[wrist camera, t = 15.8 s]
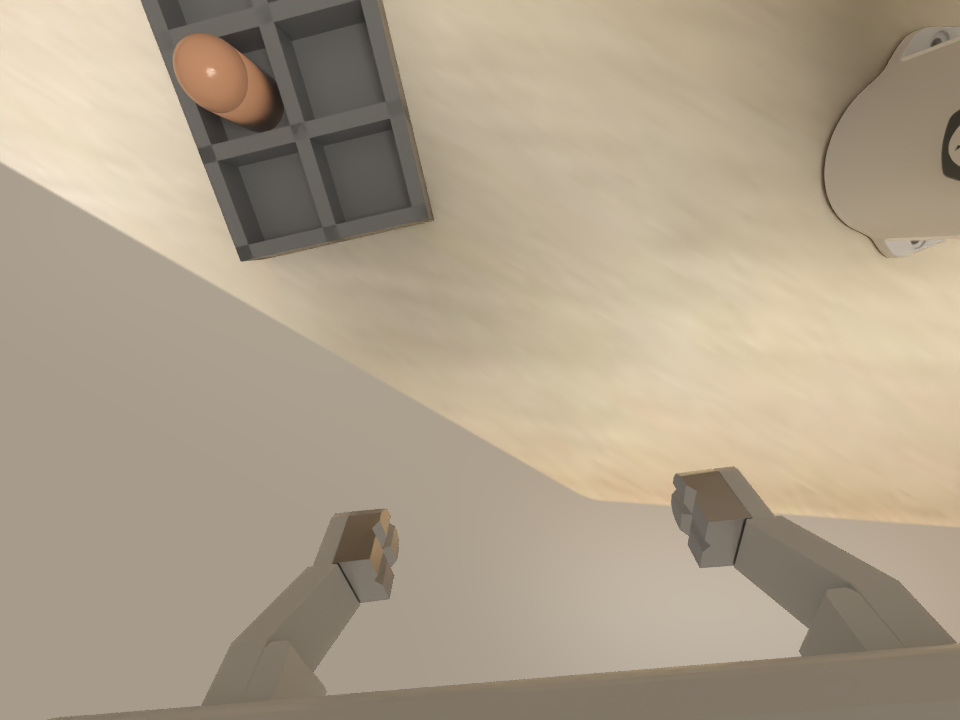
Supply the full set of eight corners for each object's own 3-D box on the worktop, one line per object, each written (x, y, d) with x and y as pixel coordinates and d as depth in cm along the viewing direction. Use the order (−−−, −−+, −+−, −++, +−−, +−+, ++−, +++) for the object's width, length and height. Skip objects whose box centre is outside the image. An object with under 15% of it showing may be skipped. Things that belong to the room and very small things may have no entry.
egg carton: (354, -118, 31) (336, -169, 27) (433, 220, 38) (428, 218, 34) (147, -59, 32) (102, -100, 28) (264, 259, 39) (240, 261, 35)
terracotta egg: (272, 62, 33) (210, 9, 26) (292, 125, 35) (239, 93, 27) (218, 75, 33) (141, 28, 26) (240, 138, 35) (173, 110, 27)
